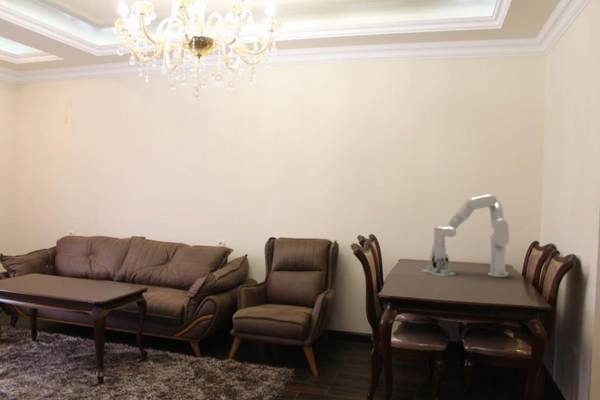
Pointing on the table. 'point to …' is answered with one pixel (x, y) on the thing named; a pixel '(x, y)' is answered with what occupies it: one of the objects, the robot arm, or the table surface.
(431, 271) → the seat
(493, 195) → the robot arm
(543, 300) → the table surface
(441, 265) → the hub
